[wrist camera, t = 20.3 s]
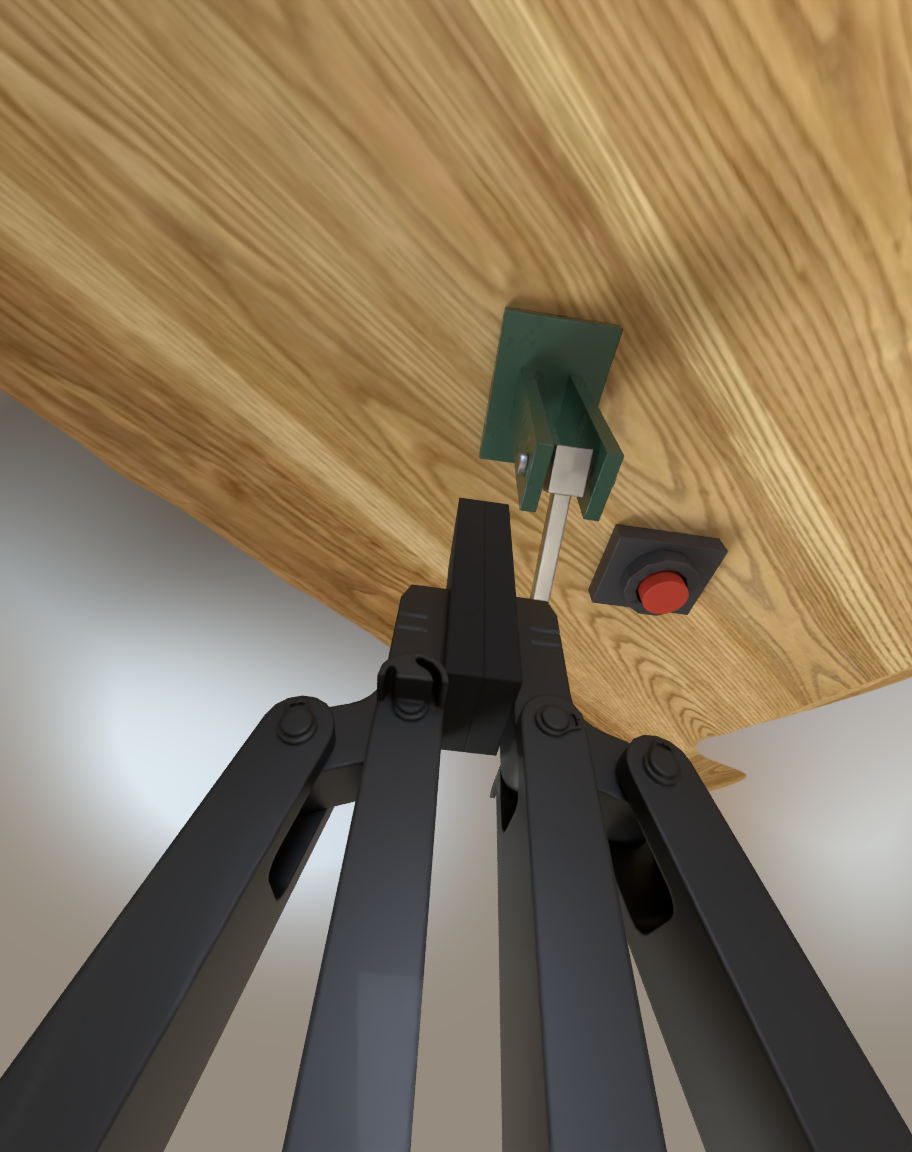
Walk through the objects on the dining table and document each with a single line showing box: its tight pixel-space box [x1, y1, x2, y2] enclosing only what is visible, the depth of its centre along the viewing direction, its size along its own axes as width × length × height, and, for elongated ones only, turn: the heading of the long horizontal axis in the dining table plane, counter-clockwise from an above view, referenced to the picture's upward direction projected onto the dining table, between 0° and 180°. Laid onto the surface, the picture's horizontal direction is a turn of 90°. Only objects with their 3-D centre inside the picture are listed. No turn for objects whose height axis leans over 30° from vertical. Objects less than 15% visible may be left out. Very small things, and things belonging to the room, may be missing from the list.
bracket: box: [480, 307, 624, 521], centre depth 33 cm, size 12×9×16 cm
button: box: [638, 571, 689, 614], centre depth 47 cm, size 4×4×2 cm
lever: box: [530, 445, 593, 604], centre depth 30 cm, size 17×4×4 cm, turn 173°
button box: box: [589, 525, 728, 616], centre depth 49 cm, size 11×9×4 cm
